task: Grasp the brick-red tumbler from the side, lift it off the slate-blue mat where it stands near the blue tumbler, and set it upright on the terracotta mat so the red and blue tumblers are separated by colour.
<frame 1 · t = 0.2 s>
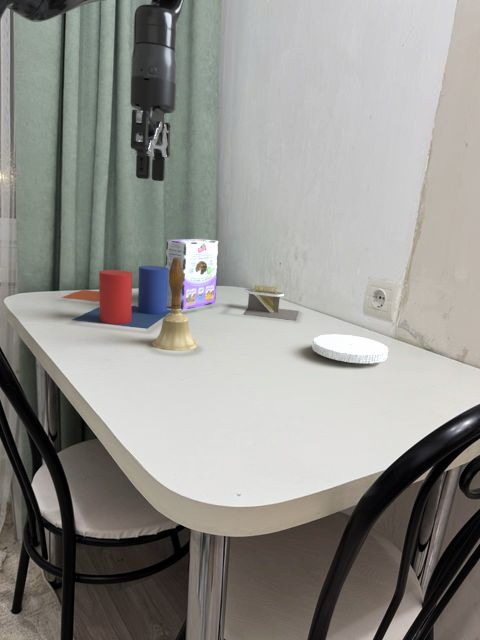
hand: (150, 179, 90), 29 cm above the table, tool pointing down, fingers open, 8 cm apart
blue mat: (126, 316, 111), on the table
candy box: (190, 306, 127), on the table
hand bell: (174, 347, 92), on the table
blue tumbler: (152, 311, 116), resting on blue mat
red mat: (95, 297, 127), on the table
platform: (262, 312, 129), on the table
plastic lid: (348, 357, 96), on the table
red tumbler: (115, 320, 105), resting on blue mat
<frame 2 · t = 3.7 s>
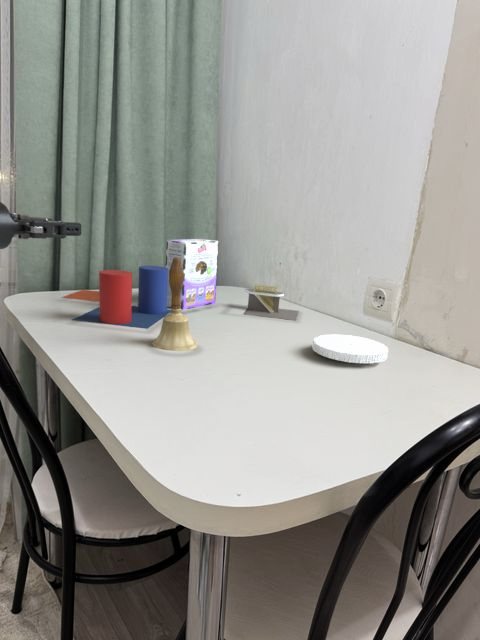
hand: (65, 226, 91), 19 cm above the table, tool horizontal, fingers open, 8 cm apart
nothing on the table moved.
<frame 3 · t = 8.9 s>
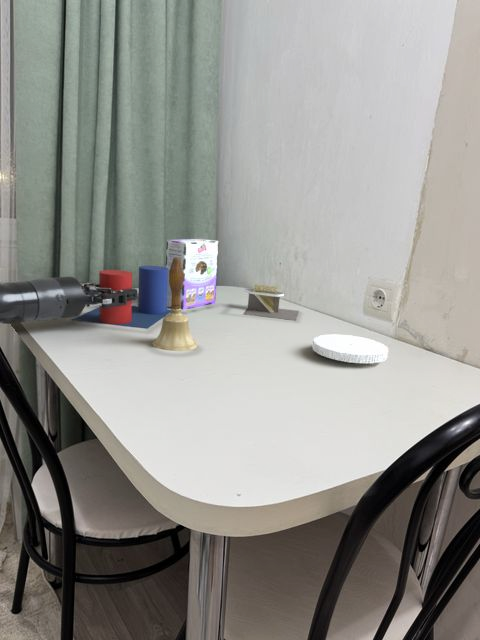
hand: (124, 291, 105), 6 cm above the table, tool horizontal, fingers closed on red tumbler, 6 cm apart
red tumbler: (115, 320, 105), resting on blue mat, touching gripper
everything else where it was.
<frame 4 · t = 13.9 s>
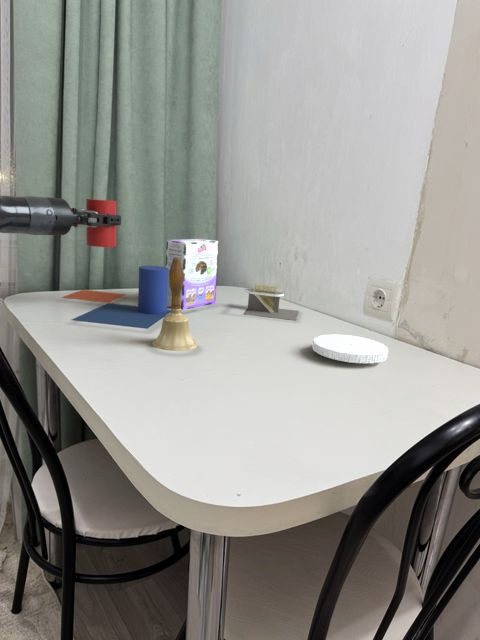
hand: (109, 218, 116), 20 cm above the table, tool horizontal, fingers closed on red tumbler, 6 cm apart
red tumbler: (101, 245, 116), point 14 cm above the table, touching gripper
everything else where it was.
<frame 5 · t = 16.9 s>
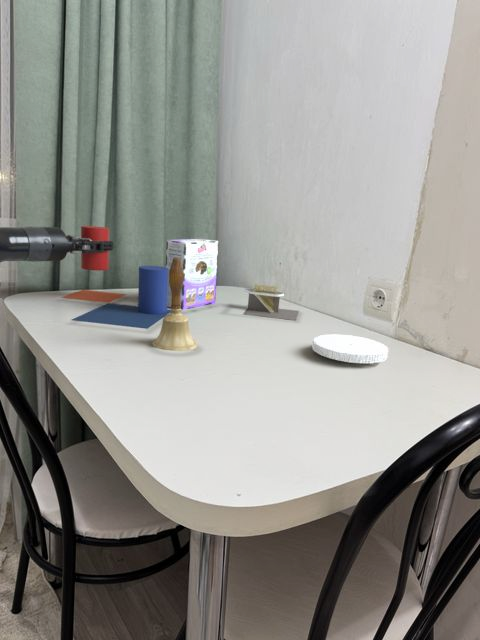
hand: (102, 244, 125), 13 cm above the table, tool horizontal, fingers closed on red tumbler, 6 cm apart
red tumbler: (95, 268, 125), point 7 cm above the table, touching gripper
everything else where it was.
when the fingers open (6 cm above the table, at t = 19.3 s): red tumbler stays where it is, resting on red mat.
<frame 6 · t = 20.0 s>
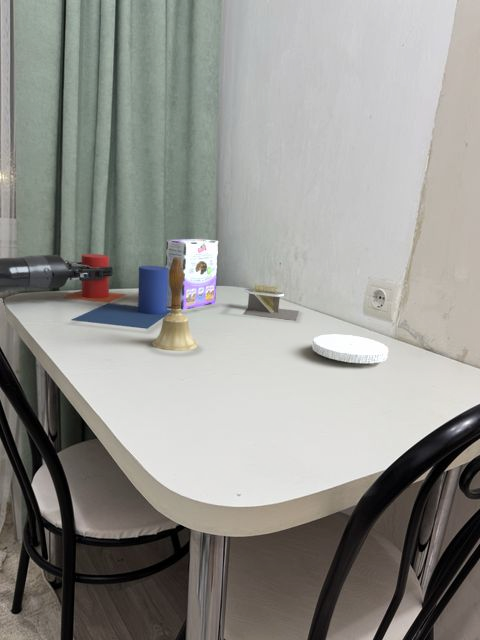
hand: (100, 268, 127), 7 cm above the table, tool horizontal, fingers open, 8 cm apart
red tumbler: (95, 295, 127), resting on red mat
everything else where it was.
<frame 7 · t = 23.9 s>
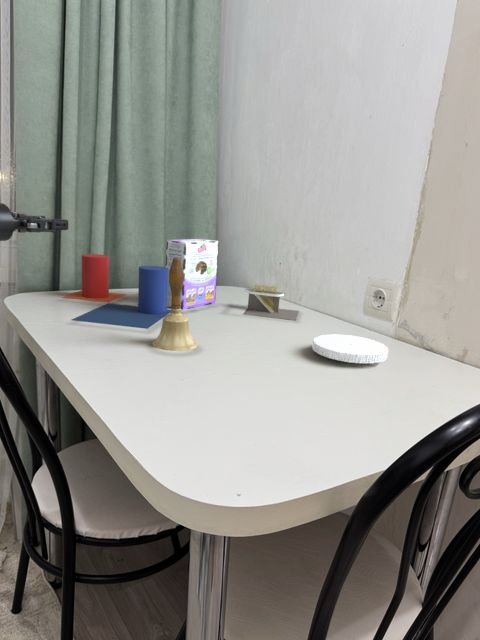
hand: (56, 222, 113), 18 cm above the table, tool horizontal, fingers open, 8 cm apart
nothing on the table moved.
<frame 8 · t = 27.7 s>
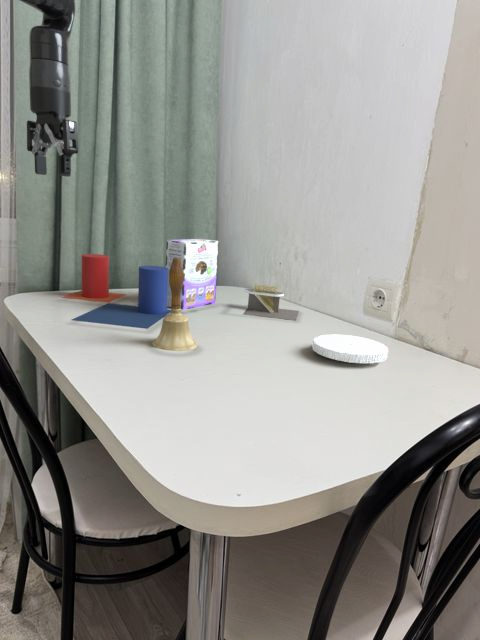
hand: (52, 175, 104), 28 cm above the table, tool pointing down, fingers open, 8 cm apart
nothing on the table moved.
at the end: red tumbler inside the target area on the red mat (0.0 cm from its centre), point 0.4 cm above the red mat's base; red tumbler tilted 0°; blue tumbler moved 0.0 cm from its start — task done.
